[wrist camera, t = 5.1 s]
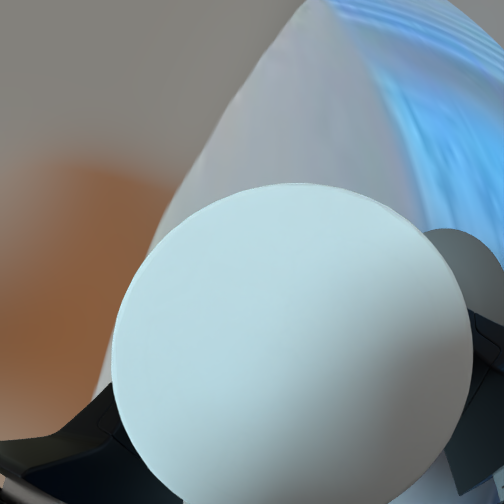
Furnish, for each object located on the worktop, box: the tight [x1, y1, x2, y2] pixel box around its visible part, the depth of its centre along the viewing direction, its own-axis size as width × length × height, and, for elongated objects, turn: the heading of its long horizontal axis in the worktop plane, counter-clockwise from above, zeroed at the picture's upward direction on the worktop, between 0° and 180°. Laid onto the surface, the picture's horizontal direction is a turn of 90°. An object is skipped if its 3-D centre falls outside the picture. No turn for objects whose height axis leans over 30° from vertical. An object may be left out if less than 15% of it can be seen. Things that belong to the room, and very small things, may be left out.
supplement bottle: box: [111, 183, 473, 504], centre depth 9 cm, size 7×7×13 cm
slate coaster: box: [423, 229, 504, 326], centre depth 14 cm, size 10×10×1 cm
